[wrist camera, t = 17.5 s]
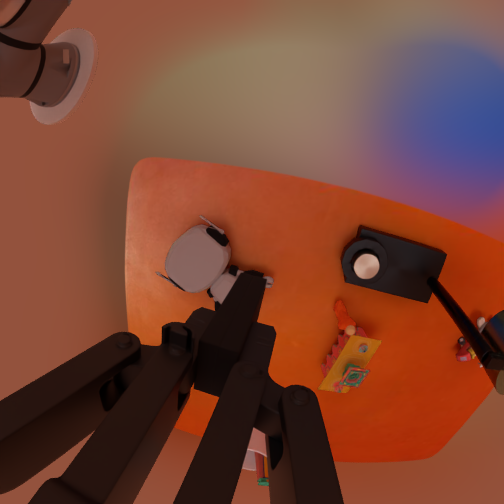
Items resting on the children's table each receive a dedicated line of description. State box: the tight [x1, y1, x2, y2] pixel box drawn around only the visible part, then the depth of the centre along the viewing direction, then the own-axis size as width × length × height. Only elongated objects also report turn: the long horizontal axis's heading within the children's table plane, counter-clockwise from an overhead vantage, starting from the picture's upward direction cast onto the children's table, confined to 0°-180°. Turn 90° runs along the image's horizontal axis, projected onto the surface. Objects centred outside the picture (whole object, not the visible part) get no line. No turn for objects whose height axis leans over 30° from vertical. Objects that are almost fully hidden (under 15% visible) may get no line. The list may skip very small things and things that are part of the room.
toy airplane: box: [456, 317, 488, 367], centre depth 36 cm, size 9×9×6 cm
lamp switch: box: [353, 250, 379, 279], centre depth 36 cm, size 3×3×2 cm
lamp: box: [427, 276, 504, 395], centre depth 26 cm, size 10×7×19 cm
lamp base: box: [340, 225, 447, 303], centre depth 38 cm, size 16×8×4 cm, turn 79°
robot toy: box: [156, 215, 274, 312], centre depth 44 cm, size 12×4×15 cm
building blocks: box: [254, 300, 382, 486], centre depth 41 cm, size 12×35×14 cm, turn 161°
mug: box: [242, 428, 267, 470], centre depth 50 cm, size 11×9×10 cm
